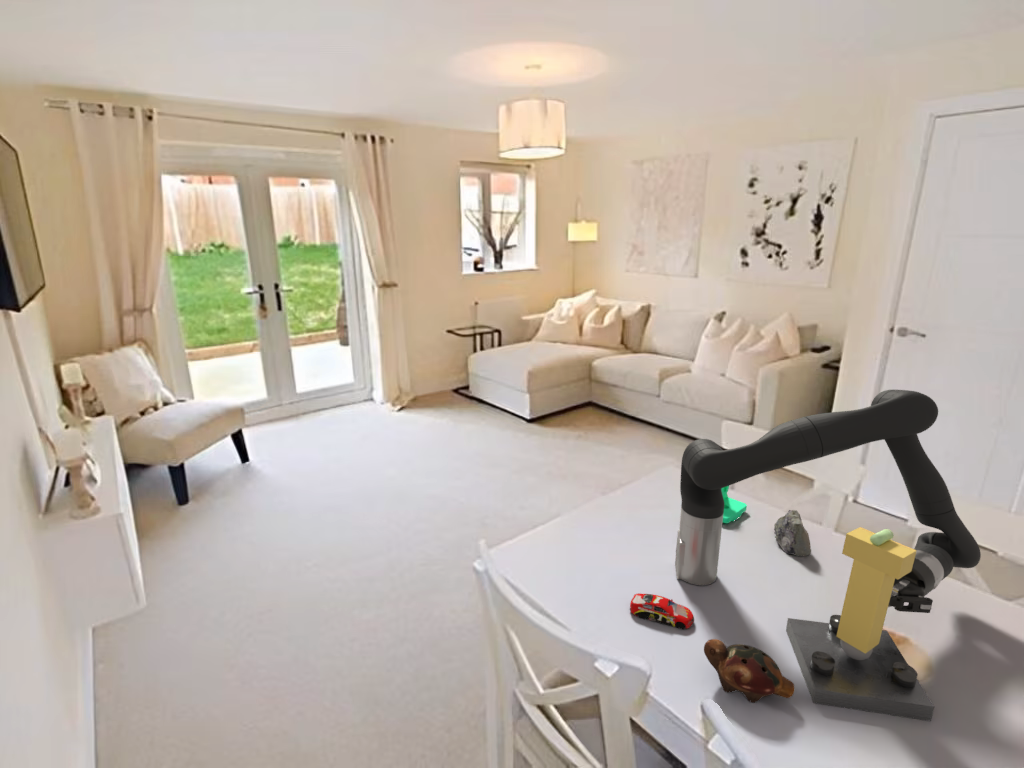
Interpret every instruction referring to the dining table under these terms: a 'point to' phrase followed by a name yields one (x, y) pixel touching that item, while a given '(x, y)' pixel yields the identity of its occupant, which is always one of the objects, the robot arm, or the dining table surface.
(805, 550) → the mineral rock
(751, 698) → the decorative turtle
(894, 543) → the yellow t-shaped post
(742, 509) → the camera mount
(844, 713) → the dining table surface
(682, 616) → the race car
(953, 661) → the dining table surface
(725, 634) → the dining table surface
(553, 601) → the dining table surface
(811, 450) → the robot arm
